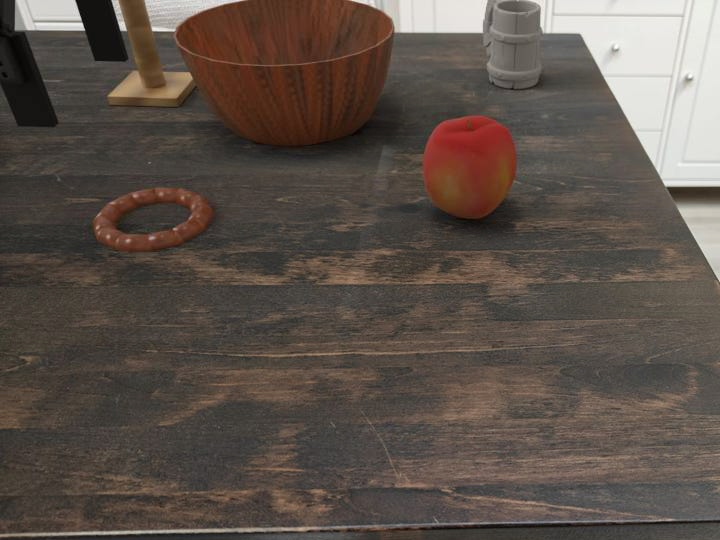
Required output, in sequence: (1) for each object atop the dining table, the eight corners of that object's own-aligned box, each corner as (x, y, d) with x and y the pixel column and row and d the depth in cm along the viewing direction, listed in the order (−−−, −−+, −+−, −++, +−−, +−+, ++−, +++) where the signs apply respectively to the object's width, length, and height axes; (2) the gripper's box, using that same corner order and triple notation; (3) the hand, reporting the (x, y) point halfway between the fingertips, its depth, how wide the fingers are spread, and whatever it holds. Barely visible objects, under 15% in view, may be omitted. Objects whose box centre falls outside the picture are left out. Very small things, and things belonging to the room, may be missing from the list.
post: (109, 105, 96) (66, -32, 86) (135, 79, 103) (98, -51, 92) (178, 107, 96) (144, -30, 86) (200, 81, 103) (170, -49, 92)
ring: (78, 257, 70) (71, 239, 69) (123, 199, 78) (117, 182, 77) (194, 261, 70) (189, 243, 69) (227, 202, 78) (223, 185, 77)
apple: (533, 213, 78) (540, 121, 71) (468, 247, 73) (470, 152, 66) (468, 181, 83) (470, 92, 76) (404, 211, 78) (399, 119, 71)
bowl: (193, 94, 99) (171, 3, 92) (376, 76, 106) (370, -11, 98) (201, 180, 82) (175, 76, 74) (421, 153, 88) (418, 54, 80)
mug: (505, 94, 102) (509, 0, 94) (462, 66, 109) (463, -23, 101) (551, 84, 105) (558, -8, 97) (506, 57, 112) (510, -30, 104)
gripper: (-104, -239, 37) (53, 160, 51) (102, -256, 55) (175, 39, 69) (-254, -242, 37) (-56, 158, 51) (2, -257, 56) (96, 37, 70)
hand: (78, 90), depth 60 cm, fingers open, 13 cm apart
